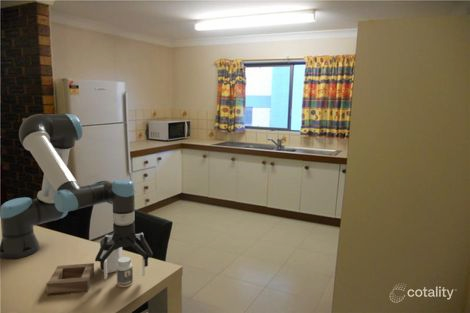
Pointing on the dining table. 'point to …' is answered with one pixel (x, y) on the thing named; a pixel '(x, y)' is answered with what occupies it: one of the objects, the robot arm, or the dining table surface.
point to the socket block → (70, 279)
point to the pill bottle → (124, 272)
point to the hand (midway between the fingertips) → (125, 275)
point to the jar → (111, 256)
